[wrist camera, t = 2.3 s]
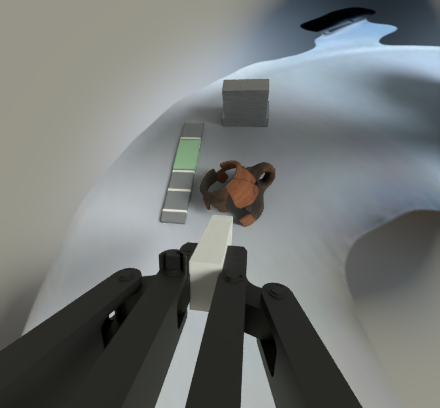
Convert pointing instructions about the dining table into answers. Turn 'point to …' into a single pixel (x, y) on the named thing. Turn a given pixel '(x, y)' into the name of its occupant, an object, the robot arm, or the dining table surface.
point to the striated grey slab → (245, 102)
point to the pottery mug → (239, 188)
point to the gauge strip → (182, 175)
